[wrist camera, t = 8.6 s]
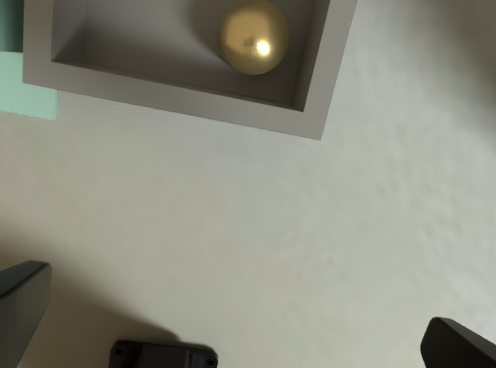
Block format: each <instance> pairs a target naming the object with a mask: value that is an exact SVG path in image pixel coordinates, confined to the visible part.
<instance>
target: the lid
mask: <svg viewBox="0 0 496 368" xmlns="http://www.w3.org/2000/svg"><path fill="white" fill-rule="evenodd" d="M23 33H24V0H0V110H1V111H7V112H12V113H18V114H23V115H29V116H34V117H39V118H45V119H50V120H54V119H56V99H57V90H56V89H51V88H46V87H40V86H35V85H30V84H25V83H22V75H23Z"/></svg>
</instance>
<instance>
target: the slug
mask: <svg viewBox="0 0 496 368" xmlns="http://www.w3.org/2000/svg"><path fill="white" fill-rule="evenodd" d="M218 43H219V48H220V51H221V54H222V56H223V58H224V59H225V61H226V62H227V63H228V64H229V65H230V66H231V67H232V68H233V69H235V70H237V71H239V72H241V73H244V74H249V75H258V74H263V73H266V72H268V71H270V70H272V69H273V68H275V67H276V66H277V65H278V64H279V63H280V62H281V60H282V59H283V57H284V55H285V53H286V51H287V48H288V44H289V29H288V25H287V22H286V20H285V18H284V16H283V14H282V13H281V12H280V10H279V9H278V8H277V7H275V6H274V5H273V4H271V3H270V2H268V1H265V0H242V1H240V2H237V3H236V4H234V5H233V6H232V7H231V8H229V10H228V11H227V12H226V13H225V15H224V16H223V18H222V20H221V23H220V26H219V30H218Z"/></svg>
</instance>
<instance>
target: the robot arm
mask: <svg viewBox="0 0 496 368" xmlns="http://www.w3.org/2000/svg"><path fill="white" fill-rule="evenodd" d="M51 273H52V268H51V265H50V263H48V262H42V261H35V260H29V261H26V262H24V263H21V264H18V265H15V266H13V267H10V268H7V269H5V270H2V271H0V368H16V367H17V365H18V363H19V361H20V359H21V357H22V356H23V354H24V352H25V350H26V348H27V346H28V344H29V342H30V340H31V338H32V336H33V334H34V332H35V330H36V328H37V326H38V324H39V322H40V320H41V318H42V316H43V314H44V312H45V310H46V308H47V306H48V303H49V300H50V292H51ZM119 348H120V349H122V351H120V350H118V349H119ZM420 351H421V355H422V358H423V361H424V363H425V366H426V368H496V345H495V344H494V343H492V342H490V341H488V340H487V339H485V338H483V337H482V336H480V335H478V334H476V333H475V332H473V331H471V330H469V329H468V328H466V327H464V326H463V325H461V324H459V323H457V322H456V321H454V320H452V319H449V318H443V317H434V318H432V319H431V320H430V322H429V325H428V327H427V329H426V332H425V334H424V337H423V339H422V342H421V346H420ZM208 359H212V361H209V360H208ZM217 365H218V355H217V354H216V353H215V352H213V351H207V350H198V349H190V348H181V347H173V346H164V345H156V344H148V343H139V342H131V341H122V340H121V341H116V342H115V343H114V344H113V347H112V349H111V354H110V362H109V368H217Z"/></svg>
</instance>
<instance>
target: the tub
mask: <svg viewBox="0 0 496 368" xmlns="http://www.w3.org/2000/svg"><path fill="white" fill-rule="evenodd" d="M240 1H242V0H24V33H23V75H22V83H25V84H30V85H35V86H40V87H46V88H51V89H56V90H61V91H66V92H72V93H77V94H82V95H87V96H92V97H98V98H103V99H108V100H113V101H118V102H124V103H129V104H134V105H139V106H144V107H150V108H155V109H160V110H165V111H170V112H176V113H181V114H186V115H191V116H196V117H201V118H207V119H212V120H217V121H222V122H227V123H233V124H238V125H243V126H248V127H253V128H259V129H264V130H269V131H274V132H279V133H285V134H290V135H295V136H300V137H305V138H311V139H316V140H321V137H322V133H323V129H324V125H325V122H326V118H327V114H328V110H329V106H330V102H331V99H332V95H333V91H334V87H335V83H336V79H337V76H338V72H339V68H340V64H341V60H342V56H343V53H344V49H345V45H346V41H347V37H348V33H349V30H350V26H351V22H352V18H353V14H354V10H355V7H356V3H357V0H265V1H268V2H270V3H271V4H273V5H274V6H275V7H277V8H278V9H279V10H280V12H281V13H282V14H283V16H284V18H285V20H286V22H287V25H288V29H289V44H288V48H287V51H286V53H285V55H284V57H283V59H282V60H281V62H280V63H279V64H278V65H277V66H276V67H275V68H273V69H272V70H270V71H268V72H266V73H263V74H258V75H249V74H244V73H241V72H239V71H237V70H235V69H233V68H232V67H231V66H230V65H229V64H228V63H227V62H226V61H225V59H224V58H223V56H222V54H221V51H220V48H219V43H218V30H219V26H220V23H221V20H222V18H223V16H224V15H225V13H226V12H227V11H228V10H229V8H231V7H232V6H233V5H234V4H236V3H237V2H240Z"/></svg>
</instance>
